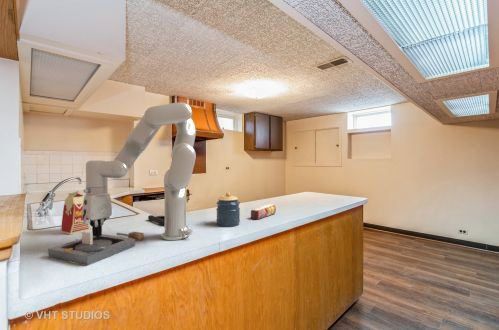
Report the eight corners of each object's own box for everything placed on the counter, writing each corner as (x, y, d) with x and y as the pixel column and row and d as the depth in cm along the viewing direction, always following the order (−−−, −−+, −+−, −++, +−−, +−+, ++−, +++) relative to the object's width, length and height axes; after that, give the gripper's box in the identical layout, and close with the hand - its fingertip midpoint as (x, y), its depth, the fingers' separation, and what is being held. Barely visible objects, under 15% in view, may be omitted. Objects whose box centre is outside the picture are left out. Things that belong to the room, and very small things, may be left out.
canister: (225, 228, 128) (225, 194, 127) (211, 223, 138) (211, 192, 137) (244, 224, 136) (244, 192, 136) (230, 220, 146) (230, 190, 146)
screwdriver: (143, 239, 111) (143, 232, 110) (139, 241, 108) (139, 234, 108) (119, 235, 115) (119, 229, 115) (114, 237, 113) (114, 231, 113)
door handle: (171, 212, 156) (145, 215, 144) (188, 218, 142) (161, 221, 130) (171, 218, 156) (145, 221, 144) (188, 224, 141) (161, 227, 130)
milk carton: (90, 230, 124) (90, 190, 124) (70, 235, 116) (70, 192, 116) (79, 227, 128) (79, 189, 128) (59, 232, 120) (59, 191, 119)
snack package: (258, 220, 145) (258, 209, 145) (249, 219, 149) (249, 208, 149) (276, 214, 163) (276, 204, 163) (267, 213, 167) (267, 203, 166)
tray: (134, 246, 101) (134, 237, 101) (87, 265, 82) (87, 255, 82) (99, 240, 108) (99, 232, 108) (48, 257, 89) (48, 247, 89)
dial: (119, 245, 99) (119, 230, 98) (90, 255, 87) (90, 239, 87) (97, 241, 103) (97, 227, 103) (67, 251, 91) (67, 235, 91)
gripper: (85, 193, 92) (85, 242, 93) (119, 189, 106) (119, 231, 107) (71, 192, 95) (72, 240, 95) (106, 188, 109) (106, 230, 109)
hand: (97, 235), depth 101 cm, fingers closed
